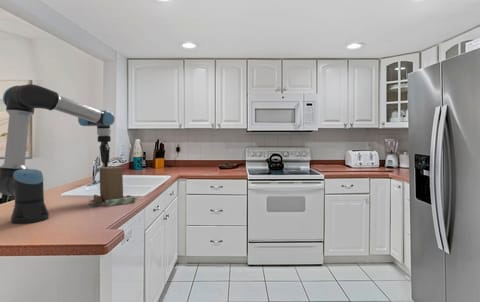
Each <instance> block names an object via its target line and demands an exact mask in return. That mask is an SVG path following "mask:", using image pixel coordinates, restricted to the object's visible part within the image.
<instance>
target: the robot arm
mask: <svg viewBox="0 0 480 302" xmlns="http://www.w3.org/2000/svg"><path fill="white" fill-rule="evenodd" d="M2 95H3V96H2V101H3V104H4V105H5V106H6V108H5V111H6V113H7V114H8V115H9V116H8V123H7V124H8V125H7V134H6V144H5V153H4V162H3V164H2V165H1V166H0V194H1V195H5V196H13V197H14V206H13V211H12V214H11V216H10V222H11V223H12V224H21V225H22V224H30V223H32V224H33V223H37V222H42V221H46V220H48V219H49V218H50V213H49V211H48V208H47V206H46V203H45V194H44V193H45V192H44V174H43V172H42V171H41V170H38V169H33V168H32V169H31V168H28V167H27V166H26V157H27V148H28V140H29V139H28V138H29V130H30V128H29V127H30V119H31V118H32V117H33V115H34V114H35V109H43V110H48V111H58V112H61V113H64V114H66V115H67V114H68V115H70V116H73V117H76V118H77V119H78V120H77V121H78V124H79V125H80V126H82V127H96V132H97V133H96V135H97V142H98V143H100V146H99V153H100V161H101V163H102V167H109V162H110V149H111V147H110V146H109V143H110V142H111V140H112V139H111V132H112V130H111V126H112V125H113V124H114V122H115V115H114V113H113V112H110V111H109V110H99V109H96V108H93V107H91V106H88V105H86V104H83V103H80V102H78V101H75V100H73V99H69V98H67V97H64V96H61V95H59V93H58V92H57V91H54V90H51V89H49V88H46V87H43V86H40V85H37V84H33V83H31V84H30V83H27V84H23V85H22V84H21V85H14V86H11V87H8V88H7V89H6V90H5V91H4V92H3V94H2Z"/></svg>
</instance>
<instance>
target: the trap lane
mask: <svg viewBox="0 0 480 302" xmlns="http://www.w3.org/2000/svg"><path fill="white" fill-rule="evenodd" d="M93 200H94V201H95V202H89V203H88V205H90V206H92V207H93V208H98V207H113V206H118V205H126V204H132V203H136V200H138V198H136V197H135V196H132V195H130V194H129V195H126V196H123V198H122V199H114V200H105V201H104V203H103V202H102V197H100V195H97V194H93Z"/></svg>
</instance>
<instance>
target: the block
mask: <svg viewBox="0 0 480 302" xmlns="http://www.w3.org/2000/svg"><path fill="white" fill-rule="evenodd" d="M98 173H99V196H100V197H102V201H103V202H105V200H114V199H122V198H123V197H124V186H123V185H124V184H123V181H124V179H123V178H124V177H123V167H122V166H112V165H111V166H108V167H103V166H102V167H99V169H98Z"/></svg>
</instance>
